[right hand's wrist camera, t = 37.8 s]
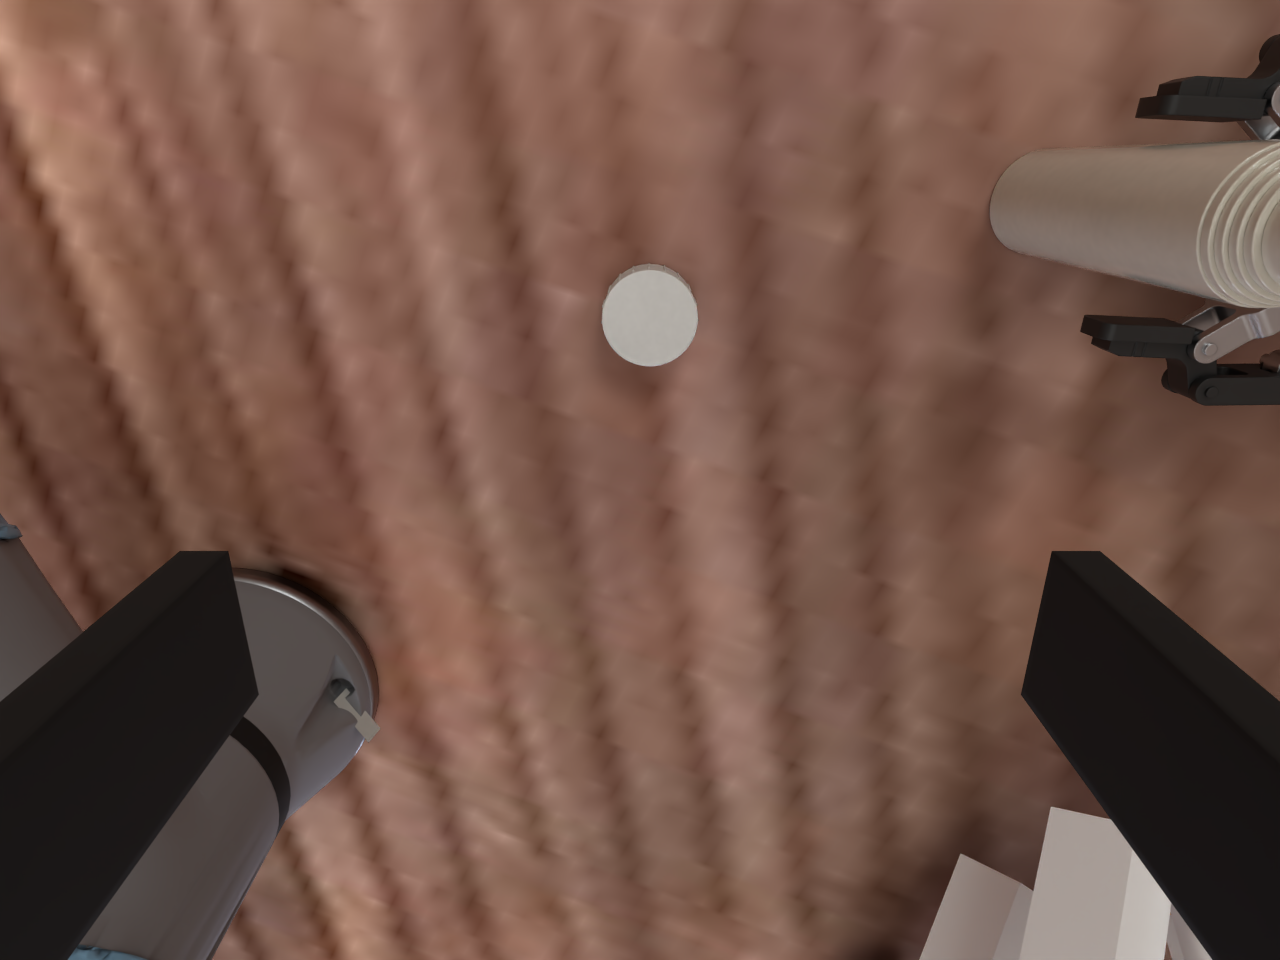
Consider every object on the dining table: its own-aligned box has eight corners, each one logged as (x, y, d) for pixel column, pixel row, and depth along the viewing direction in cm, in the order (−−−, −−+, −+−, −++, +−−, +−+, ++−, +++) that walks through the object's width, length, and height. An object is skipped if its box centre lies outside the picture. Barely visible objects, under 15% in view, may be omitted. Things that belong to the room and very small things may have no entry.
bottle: (1028, 275, 39) (1380, 378, 20) (968, 204, 38) (1284, 243, 19) (1112, 201, 38) (1570, 238, 19) (1052, 124, 36) (1480, 83, 18)
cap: (662, 243, 39) (663, 248, 36) (713, 322, 40) (717, 332, 38) (585, 297, 40) (581, 306, 37) (637, 372, 41) (637, 385, 39)
